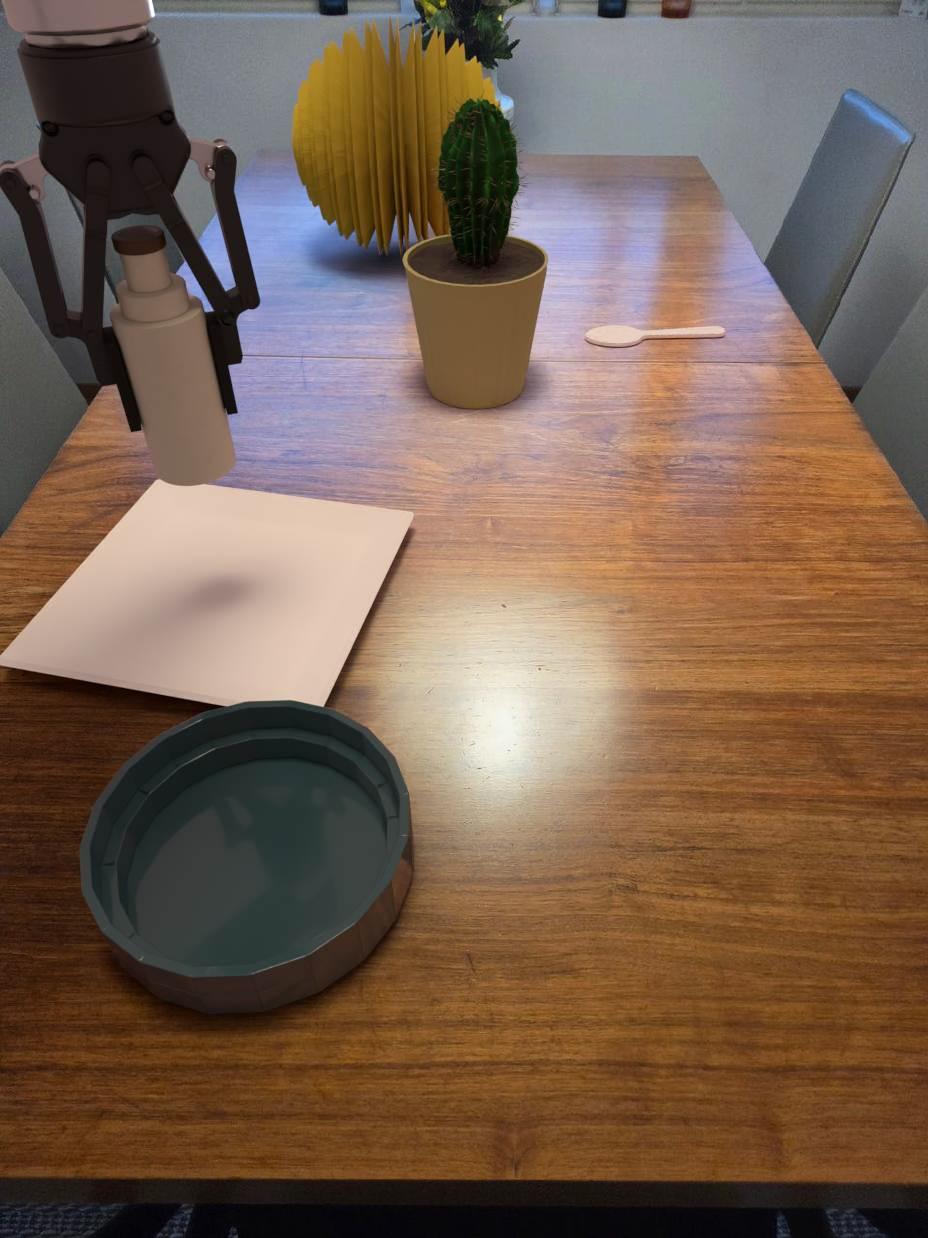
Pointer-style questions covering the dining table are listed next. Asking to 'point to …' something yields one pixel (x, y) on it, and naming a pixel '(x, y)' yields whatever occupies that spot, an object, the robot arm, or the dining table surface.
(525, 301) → the potted cactus
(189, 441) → the bottle
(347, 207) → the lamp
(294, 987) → the bowl
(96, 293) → the robot arm
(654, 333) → the spoon
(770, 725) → the dining table surface
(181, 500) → the beige square board
